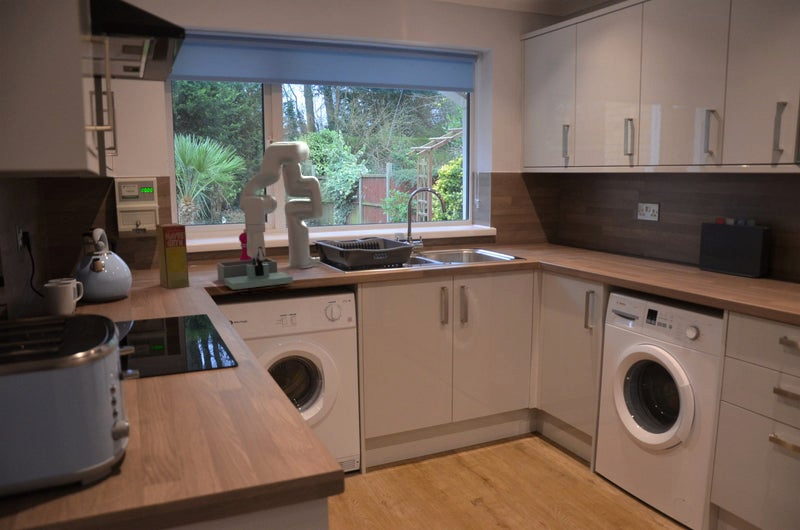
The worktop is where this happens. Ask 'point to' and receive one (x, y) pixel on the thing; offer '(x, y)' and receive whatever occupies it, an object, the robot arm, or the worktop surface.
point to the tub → (240, 268)
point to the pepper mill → (244, 246)
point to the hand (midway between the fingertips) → (258, 274)
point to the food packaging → (172, 255)
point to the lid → (258, 278)
